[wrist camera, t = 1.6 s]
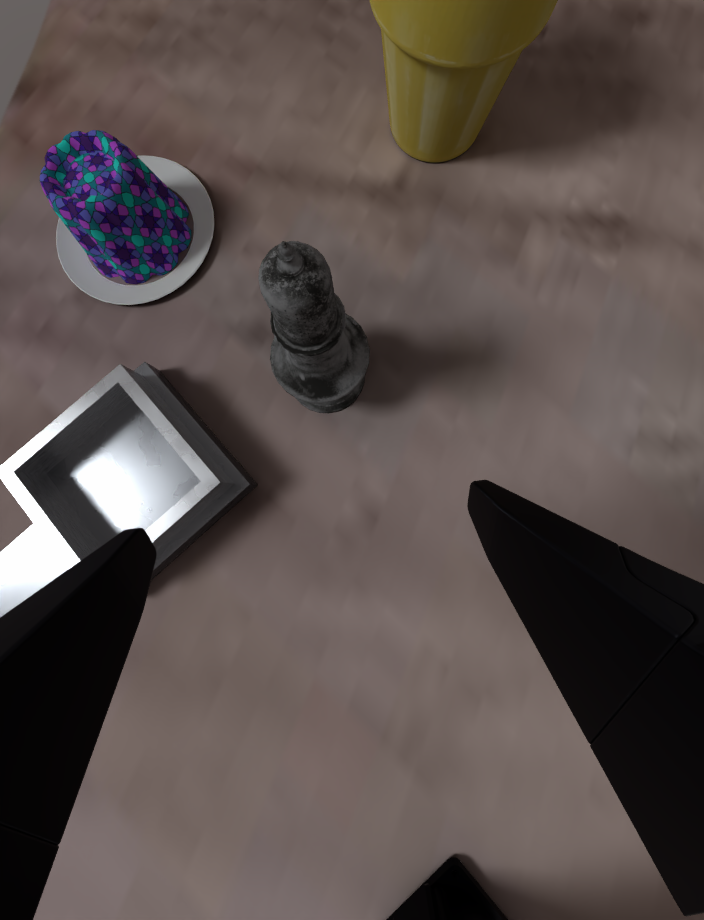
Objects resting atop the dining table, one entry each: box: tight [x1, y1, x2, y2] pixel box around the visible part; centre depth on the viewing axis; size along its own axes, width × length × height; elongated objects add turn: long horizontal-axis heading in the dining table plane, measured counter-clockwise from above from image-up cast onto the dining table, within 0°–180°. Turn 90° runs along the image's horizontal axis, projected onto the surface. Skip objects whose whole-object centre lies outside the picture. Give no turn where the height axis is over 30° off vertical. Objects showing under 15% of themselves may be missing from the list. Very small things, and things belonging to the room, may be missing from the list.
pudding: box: [40, 130, 214, 305], centre depth 22 cm, size 12×12×5 cm
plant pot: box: [370, 0, 558, 162], centre depth 19 cm, size 10×10×10 cm
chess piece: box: [259, 241, 370, 413], centre depth 17 cm, size 6×6×12 cm
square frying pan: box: [0, 362, 257, 617], centre depth 20 cm, size 11×29×4 cm, turn 132°
